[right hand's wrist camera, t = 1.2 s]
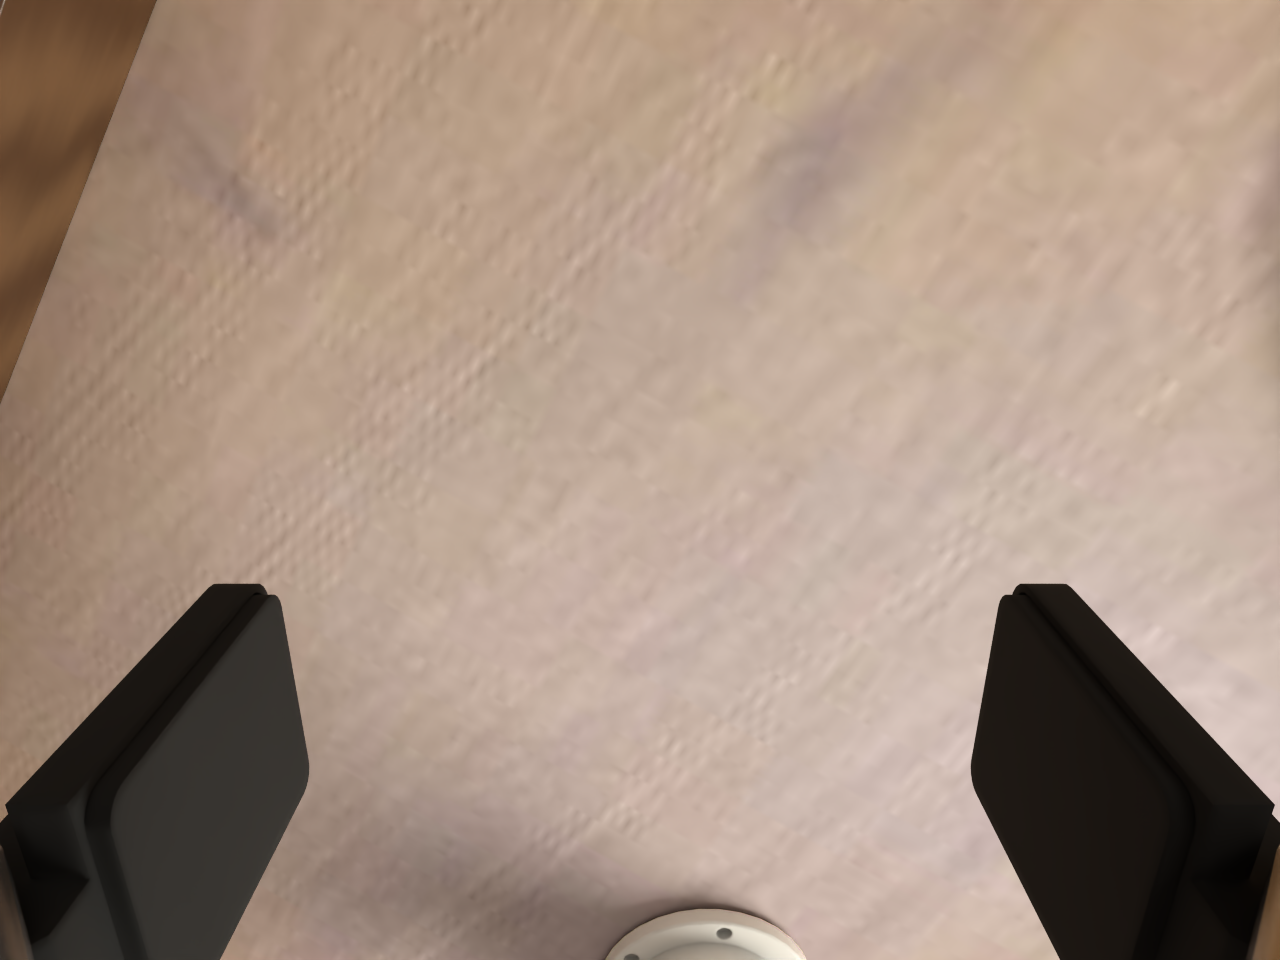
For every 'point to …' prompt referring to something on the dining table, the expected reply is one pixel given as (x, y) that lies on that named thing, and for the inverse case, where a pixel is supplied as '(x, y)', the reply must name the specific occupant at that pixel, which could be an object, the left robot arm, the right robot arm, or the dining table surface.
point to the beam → (52, 134)
